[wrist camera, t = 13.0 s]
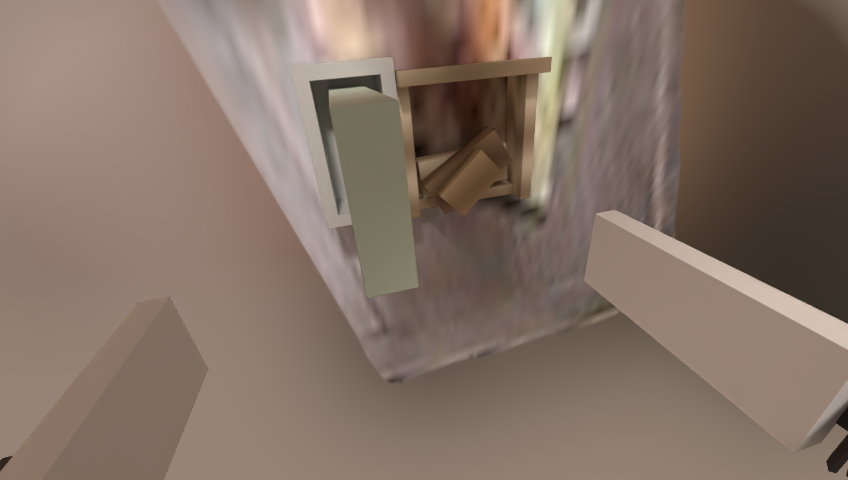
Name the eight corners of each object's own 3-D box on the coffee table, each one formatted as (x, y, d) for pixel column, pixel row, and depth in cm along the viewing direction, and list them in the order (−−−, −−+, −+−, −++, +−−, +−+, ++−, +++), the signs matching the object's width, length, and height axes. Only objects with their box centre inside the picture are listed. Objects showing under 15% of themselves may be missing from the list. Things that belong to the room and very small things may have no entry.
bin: (295, 66, 31) (289, 65, 26) (384, 58, 32) (392, 56, 28) (328, 210, 37) (328, 228, 33) (400, 198, 39) (410, 214, 34)
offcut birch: (413, 157, 38) (418, 163, 35) (496, 139, 39) (506, 143, 37) (418, 191, 40) (423, 198, 37) (497, 172, 41) (507, 178, 39)
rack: (386, 71, 33) (397, 71, 28) (518, 59, 35) (551, 56, 30) (402, 205, 39) (413, 226, 34) (513, 187, 42) (539, 203, 37)
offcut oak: (436, 192, 35) (440, 196, 34) (475, 147, 34) (481, 149, 33) (458, 211, 37) (463, 216, 35) (497, 168, 36) (503, 172, 34)
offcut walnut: (420, 181, 36) (424, 186, 35) (486, 127, 36) (494, 129, 34) (440, 207, 38) (446, 214, 37) (504, 156, 38) (512, 160, 36)
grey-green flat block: (348, 189, 36) (366, 298, 19) (328, 88, 32) (329, 107, 14) (375, 185, 37) (418, 287, 19) (360, 85, 32) (398, 100, 15)
